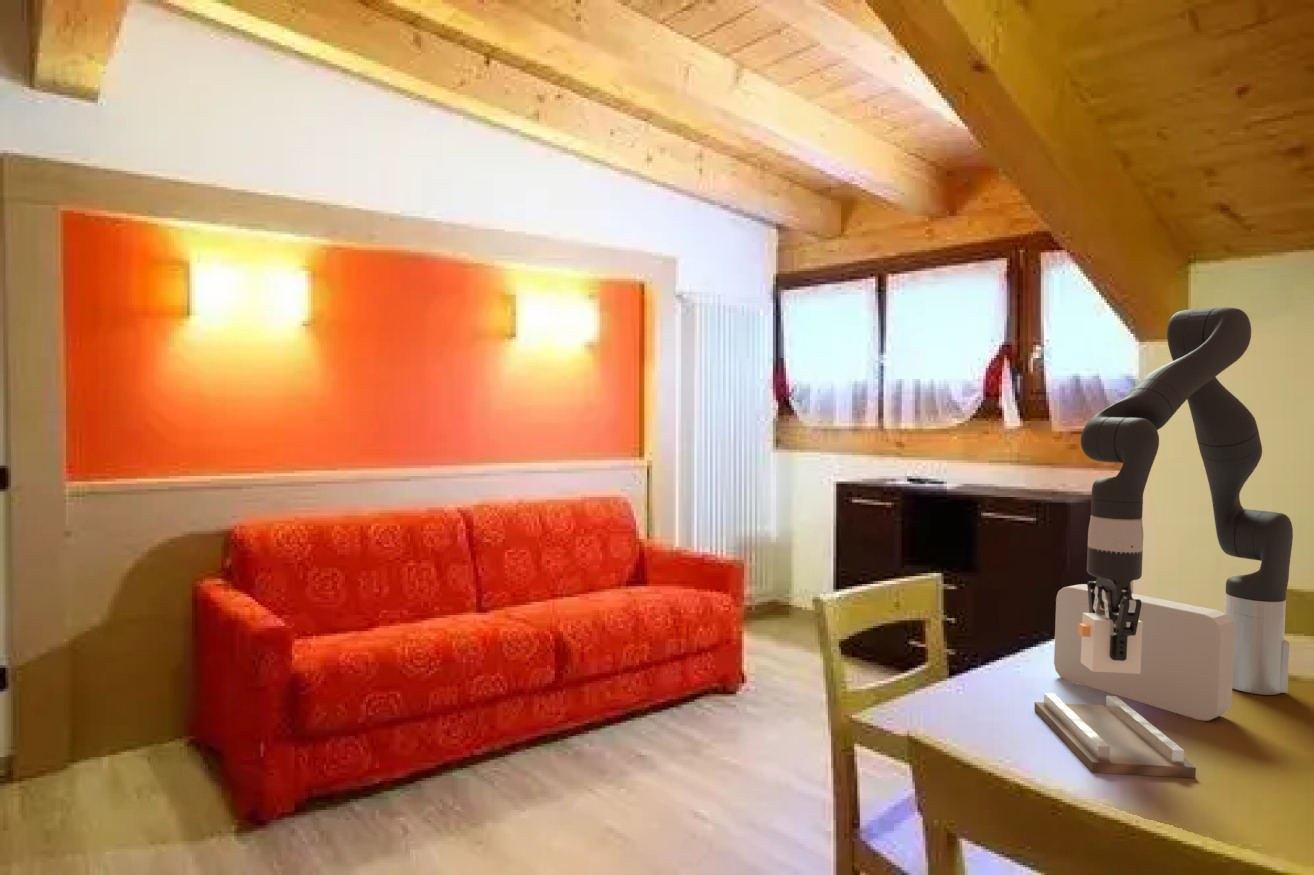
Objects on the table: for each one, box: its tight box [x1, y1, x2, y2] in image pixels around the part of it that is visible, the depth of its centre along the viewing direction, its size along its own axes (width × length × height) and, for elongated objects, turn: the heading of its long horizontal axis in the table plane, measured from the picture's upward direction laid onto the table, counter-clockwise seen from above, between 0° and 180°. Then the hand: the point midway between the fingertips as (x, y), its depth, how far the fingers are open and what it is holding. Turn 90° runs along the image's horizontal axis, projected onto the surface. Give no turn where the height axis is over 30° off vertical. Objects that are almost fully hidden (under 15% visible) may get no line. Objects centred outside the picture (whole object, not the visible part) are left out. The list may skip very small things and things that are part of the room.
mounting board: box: [1033, 701, 1197, 779], centre depth 132 cm, size 14×24×2 cm, turn 174°
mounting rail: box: [1043, 692, 1185, 764], centre depth 132 cm, size 12×22×2 cm, turn 174°
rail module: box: [1078, 613, 1143, 674], centre depth 131 cm, size 8×4×8 cm, turn 84°
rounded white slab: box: [1053, 583, 1235, 722], centre depth 152 cm, size 29×8×18 cm, turn 33°
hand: (1110, 654), depth 131 cm, fingers closed on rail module, 4 cm apart
